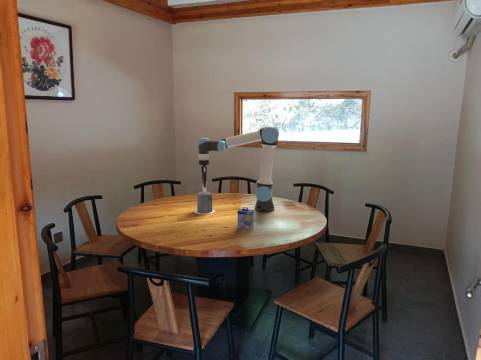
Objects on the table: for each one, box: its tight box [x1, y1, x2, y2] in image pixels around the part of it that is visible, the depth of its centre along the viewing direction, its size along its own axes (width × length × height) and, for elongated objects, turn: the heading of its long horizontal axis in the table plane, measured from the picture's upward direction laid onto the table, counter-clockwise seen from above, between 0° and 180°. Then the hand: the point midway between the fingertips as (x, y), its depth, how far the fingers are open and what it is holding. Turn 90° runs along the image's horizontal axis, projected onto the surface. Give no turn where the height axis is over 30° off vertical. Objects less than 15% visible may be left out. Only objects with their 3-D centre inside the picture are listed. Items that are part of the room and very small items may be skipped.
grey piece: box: [196, 191, 213, 213], centre depth 276 cm, size 11×14×14 cm
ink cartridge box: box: [237, 206, 255, 231], centre depth 237 cm, size 10×6×14 cm, turn 78°
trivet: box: [193, 208, 216, 215], centre depth 276 cm, size 16×16×1 cm
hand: (204, 190), depth 273 cm, fingers open, 5 cm apart
